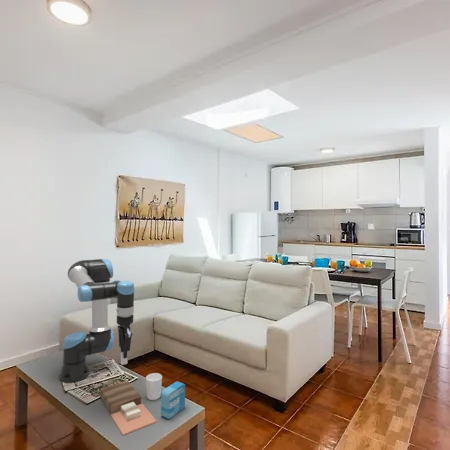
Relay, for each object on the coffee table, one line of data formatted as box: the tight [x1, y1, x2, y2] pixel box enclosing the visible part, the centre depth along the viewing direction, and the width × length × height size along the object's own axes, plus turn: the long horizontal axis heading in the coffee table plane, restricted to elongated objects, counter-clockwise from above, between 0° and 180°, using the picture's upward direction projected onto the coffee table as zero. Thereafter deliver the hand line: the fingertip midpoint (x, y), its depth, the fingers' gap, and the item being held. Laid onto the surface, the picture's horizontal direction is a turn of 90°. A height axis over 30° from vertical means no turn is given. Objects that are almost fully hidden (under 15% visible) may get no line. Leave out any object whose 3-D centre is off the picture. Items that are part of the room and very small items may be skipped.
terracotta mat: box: [110, 403, 157, 436], centre depth 144 cm, size 16×15×1 cm
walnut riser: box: [99, 380, 142, 415], centre depth 158 cm, size 18×14×4 cm
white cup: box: [145, 372, 163, 401], centre depth 162 cm, size 8×8×10 cm
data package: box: [160, 381, 186, 420], centre depth 150 cm, size 12×4×12 cm, turn 147°
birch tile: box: [121, 402, 141, 421], centre depth 147 cm, size 9×6×2 cm, turn 37°
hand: (124, 363), depth 152 cm, fingers closed
